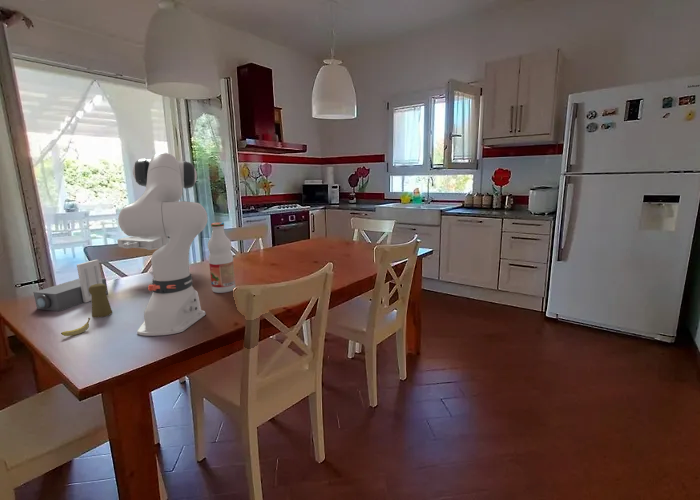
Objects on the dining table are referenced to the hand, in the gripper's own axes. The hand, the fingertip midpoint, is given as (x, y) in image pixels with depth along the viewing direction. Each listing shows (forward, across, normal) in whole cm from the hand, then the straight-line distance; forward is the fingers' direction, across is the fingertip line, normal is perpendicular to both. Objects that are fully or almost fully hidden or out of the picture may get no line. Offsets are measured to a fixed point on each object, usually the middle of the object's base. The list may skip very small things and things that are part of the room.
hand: (125, 246), depth 158 cm
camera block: (+21, -7, +18) cm, 28 cm away
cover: (+18, 0, +17) cm, 25 cm away
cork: (+29, +17, +18) cm, 38 cm away
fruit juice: (-4, +44, +18) cm, 48 cm away
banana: (+44, +25, +18) cm, 53 cm away
